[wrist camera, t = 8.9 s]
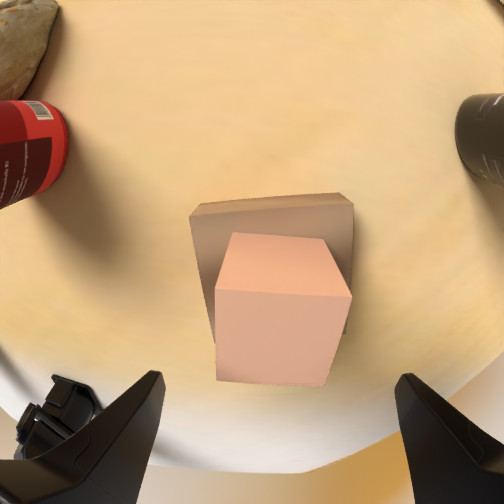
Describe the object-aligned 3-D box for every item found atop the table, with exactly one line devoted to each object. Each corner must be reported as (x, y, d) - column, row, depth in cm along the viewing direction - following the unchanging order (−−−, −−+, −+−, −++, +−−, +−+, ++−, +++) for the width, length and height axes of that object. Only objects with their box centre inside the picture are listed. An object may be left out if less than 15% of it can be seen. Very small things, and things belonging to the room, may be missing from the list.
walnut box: (335, 306, 21) (345, 333, 18) (221, 314, 22) (214, 343, 19) (337, 191, 18) (353, 203, 14) (201, 202, 18) (188, 216, 15)
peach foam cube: (309, 313, 17) (324, 385, 12) (230, 308, 17) (216, 380, 12) (323, 238, 15) (352, 296, 10) (232, 232, 15) (214, 288, 10)
